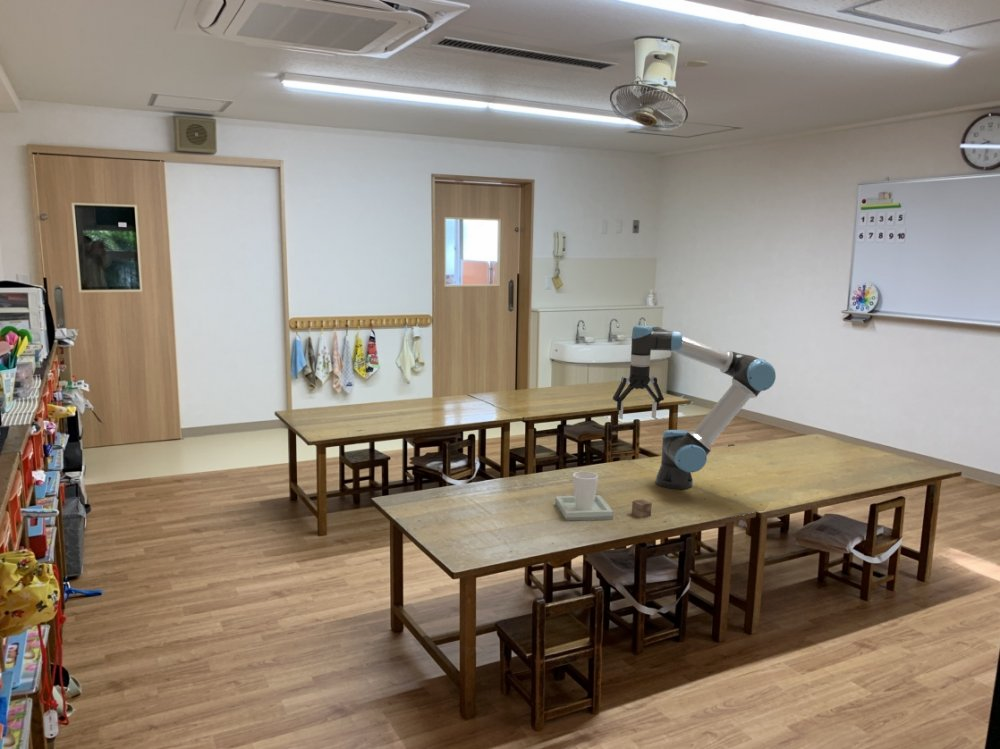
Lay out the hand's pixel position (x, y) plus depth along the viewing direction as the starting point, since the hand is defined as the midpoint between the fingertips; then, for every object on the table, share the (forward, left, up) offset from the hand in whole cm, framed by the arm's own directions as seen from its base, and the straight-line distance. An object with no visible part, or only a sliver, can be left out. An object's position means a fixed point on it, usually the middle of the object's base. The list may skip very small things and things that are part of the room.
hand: (637, 418), depth 294 cm
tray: (+25, +17, -32) cm, 44 cm away
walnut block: (+4, +22, -32) cm, 39 cm away
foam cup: (+25, +17, -31) cm, 43 cm away
